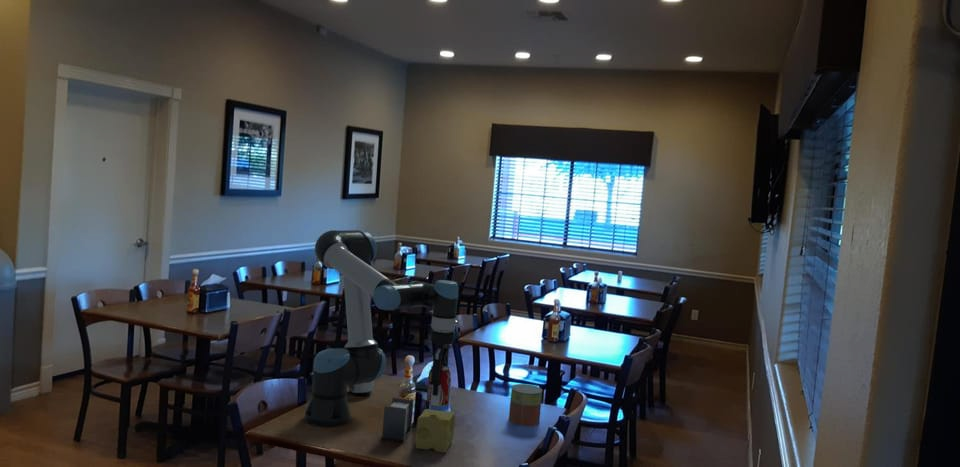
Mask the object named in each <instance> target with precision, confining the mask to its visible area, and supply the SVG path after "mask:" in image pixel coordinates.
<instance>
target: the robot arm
mask: <svg viewBox="0 0 960 467" xmlns="http://www.w3.org/2000/svg"><path fill="white" fill-rule="evenodd" d="M314 253H315V256H316V259H317V260H318V261H319V262H320V264H322V265H323V266H325V267H326V268H327V269H329V270H335V271H336V272H338V273H339V274H341V275H342V277H343V284H344V285H343V287H344V299H345V313H346V327H347V342H346V344H345V345H344V348H341V347H336V348H327V349H324V350H321V351H319V352H318V353H316V355H315V356H314V360H313V366H312V370H313V371H312V382H311V383H312V385H311V386H312V387H311V397H310V400H309V403H308V405H307V407H306V410H305V412H304V421H305V422H306V423H307V424H308V425H309V424H310V425H312V426H315V427H321V428H323V427H324V428H332V427H340V426H344V425H346V424H348V423H349V422H350V420H351V410H350V406H349V403H348V398H347V396H348V386H352V385H357V384H362V383H370V382H372V381H374V382H375V381H377V380H379V379H380V378H381V377H382V376H383V375H384V373H385V370H386V366H387V359H386V354H385V353H384V351H383V350H382V349H381V348H379V344H378V341H376V340H375V339H374V337H373V336H374V335H373V323H372V310H371V299H370V298H371V297H372V298H373V302H374V304H375V306H376V308H378V309H379V310H381V311H382V310H383V311H393V310H399V309H408V308H417V307H424V308H427V309H432V316H431V326H430V327H431V331H430V342H431V343H433V344H435V345H436V347H435V348H434V350H433V353H432V356H433V357H432V365H431V366H432V376H431V382H430V383H429V384H431V385H432V390H431V403H430V404H429V406H431V405H437V406H439V403H440V390H441V385H440V381H441V374H442V367H443V365H444V366H448V367H449V355H450V353H449V352H450V347H451V346H450V345H452V344H454V342H455V336H456V332H455V330H456V325H457V324H458V320H457V312H458V311H457V309H458V302H459V300H458V299H459V284H458V282H456V281H454V280H448V279H444V280H443V279H442V280H441V279H440V280H436V281H435V283H434V284H432V283H428V282H424V281H417V280H413V281H410V282H409V283H399V284H397V283H396V282H394V281H393V280H391V279H389V278H388V277H386V276H385V275H384V274H382V273H381V272H379V270H377V269H375V268H374V267H372V262H373V261H374V260H375V259H376V256H377V253H378V247H377V243H376V240H375V239H374V237H373V235H372V234H370V232H367V231H365V230H357V229H356V230H352V229H351V230H346V229H345V230H337V229H336V230H329V231H325V232H324V233H322V234H321V235H320V236H319V237H318V238H317V240H316V242H315V246H314ZM370 296H371V297H370ZM434 380H435V381H434Z"/></svg>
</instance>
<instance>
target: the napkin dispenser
mask: <svg viewBox="0 0 960 467" xmlns="http://www.w3.org/2000/svg"><path fill="white" fill-rule="evenodd" d="M391 398H392V401H391V405H384V407H383V408H384V409H383V410H384V411H383V424H382V436H381V441H387V442H393V443H394V442H395V443H401V444H404V443H405V441H406V440H407V438H408V437H409V436H410V434H411V433H412V425H413V424H412V423H413V411H414V399H410V398H403V397H395V396H393V397H391Z"/></svg>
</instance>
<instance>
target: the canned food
mask: <svg viewBox="0 0 960 467" xmlns="http://www.w3.org/2000/svg"><path fill="white" fill-rule="evenodd" d="M510 389H511V391H510V401H509V402H510V403H509V415H508V422H509V423H511V424H513V425H516V426H518V427H524V428H526V427H527V428H532V427H537V426H539V424H541V422H540V420H541V410H542V409H541V407H542V400H543V399H542V397H543V391H544V390H543V389H542V388H541V387H539V386H537V385H533V384H525V383H519V384H518V383H517V384H514V385H511V387H510Z"/></svg>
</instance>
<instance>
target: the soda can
mask: <svg viewBox="0 0 960 467" xmlns="http://www.w3.org/2000/svg"><path fill="white" fill-rule="evenodd" d="M432 366H433V365H431V368H430V370H429V371H428V376H427V377H428V378H427V388H426V403H427V404H428V405H430V403H431V390H432V385H431V384H429V383H430V382H431V376H432ZM434 381H435V380H434ZM440 385H441V390H440V403H439V406H437V405H430V406H431V407H435V408H441V407H445V406H446V405H448V404H449V399H450V389H451V371H450V367H449V365H448V366H444V365H443V367H442V374H441V381H440Z"/></svg>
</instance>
